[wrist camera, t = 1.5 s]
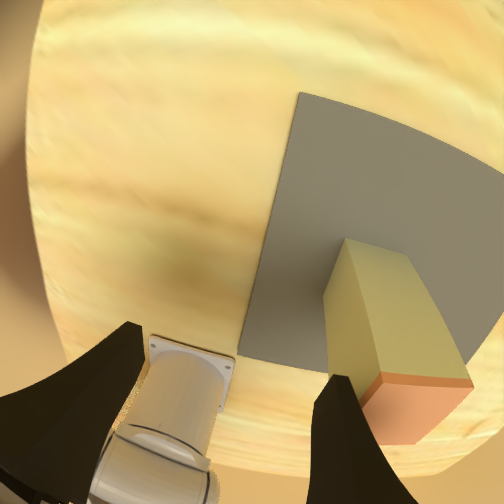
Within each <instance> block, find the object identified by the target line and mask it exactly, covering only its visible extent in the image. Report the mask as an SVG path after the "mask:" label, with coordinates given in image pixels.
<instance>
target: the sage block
mask: <svg viewBox="0 0 504 504" xmlns="http://www.w3.org/2000/svg"><path fill="white" fill-rule="evenodd" d="M323 302H324V313H325V325H326V339H327V354H328V372H329V380H330V378H331V376H332V375H333V374H337V375H343V376H348V377H349V379H350V381H351V384H352V386H353V389H354V391H355V394H356V396H357V399H358V401H359V404H360V406H361V408H362V411H363V413H364V415H365V418H366V420H367V422H368V424H369V427H370V429H371V431H372V433H373V435H374V437H375V439H376V441H377V443H378V445H414V444H416V443H417V442H418V441H419V440H421V439H422V438H423V437H424V436H425V435H427V434H428V433H429V432H430V431H431V430H432V429H433V428H435V427H436V426H437V425H438V424H439V423H440V422H441V421H442V420H443V419H444V418H446V417H447V416H448V415H449V414H450V413H451V412H452V411H453V410H454V409H455V408H456V407H457V406H458V405H459V404H460V403H461V402H462V401H463V400H464V399H465V398H466V397H467V396H468V394H469V393H470V392H471V391H472V390H473V389H474V385H473V383H472V380H471V378H470V376H469V373H468V371H467V369H466V366H465V364H464V362H463V360H462V357H461V355H460V353H459V351H458V349H457V346H456V344H455V342H454V340H453V338H452V336H451V334H450V332H449V330H448V328H447V326H446V324H445V322H444V320H443V318H442V316H441V314H440V312H439V311H438V309H437V307H436V305H435V303H434V301H433V299H432V298H431V296H430V294H429V292H428V291H427V289H426V287H425V285H424V284H423V282H422V280H421V278H420V277H419V275H418V273H417V272H416V270H415V268H414V267H413V265H412V263H411V262H410V260H409V259H408V257H407V255H405V254H401V253H398V252H394V251H391V250H387V249H384V248H380V247H377V246H373V245H369V244H366V243H362V242H358V241H355V240H351V239H347V238H345V239H344V242H343V245H342V247H341V250H340V253H339V256H338V258H337V261H336V264H335V266H334V269H333V272H332V274H331V277H330V279H329V282H328V284H327V287H326V289H325V292H324V294H323Z"/></svg>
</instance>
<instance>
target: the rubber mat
mask: <svg viewBox="0 0 504 504" xmlns="http://www.w3.org/2000/svg"><path fill="white" fill-rule="evenodd" d="M345 238H347V239H351V240H355V241H358V242H362V243H366V244H369V245H373V246H377V247H380V248H384V249H387V250H391V251H394V252H398V253H401V254H405V255H407V257H408V259H409V260H410V262H411V263H412V265H413V267H414V268H415V270H416V272H417V273H418V275H419V277H420V278H421V280H422V282H423V284H424V285H425V287H426V289H427V291H428V292H429V294H430V296H431V298H432V299H433V301H434V303H435V305H436V307H437V309H438V311H439V312H440V314H441V316H442V318H443V320H444V322H445V324H446V326H447V328H448V330H449V332H450V334H451V336H452V338H453V340H454V342H455V344H456V346H457V349H458V351H459V353H460V355H461V357H462V360H463V362H464V364H465V365H466V364H467V363H468V361H469V360H470V359H471V358H472V356H473V355H474V354H475V352H476V351H477V350H478V348H479V347H480V346H481V344H482V343H483V342H484V340H485V339H486V337H487V336H488V334H489V333H490V332H491V330H492V329H493V327H494V326H495V324H496V323H497V321H498V320H499V318H500V316H501V315H502V313H503V312H504V174H502V173H500V172H499V171H497V170H495V169H494V168H492V167H490V166H488V165H487V164H485V163H483V162H481V161H480V160H478V159H476V158H474V157H472V156H470V155H469V154H467V153H465V152H463V151H461V150H459V149H457V148H455V147H453V146H451V145H449V144H447V143H445V142H443V141H440V140H438V139H436V138H434V137H432V136H430V135H427V134H425V133H423V132H420V131H418V130H416V129H413V128H411V127H409V126H406V125H404V124H401V123H399V122H396V121H393V120H391V119H388V118H385V117H383V116H380V115H377V114H374V113H371V112H368V111H365V110H362V109H359V108H356V107H353V106H350V105H347V104H344V103H340V102H337V101H333V100H330V99H326V98H323V97H319V96H315V95H311V94H307V93H303V92H300V94H299V98H298V103H297V107H296V111H295V116H294V120H293V125H292V129H291V133H290V137H289V142H288V146H287V150H286V155H285V159H284V163H283V167H282V172H281V176H280V180H279V184H278V189H277V193H276V197H275V201H274V206H273V210H272V214H271V218H270V222H269V226H268V231H267V235H266V239H265V243H264V247H263V251H262V255H261V259H260V264H259V268H258V272H257V276H256V280H255V284H254V288H253V292H252V296H251V300H250V304H249V308H248V312H247V316H246V320H245V324H244V328H243V332H242V336H241V340H240V344H239V348H238V352H237V355H240V356H244V357H248V358H253V359H257V360H262V361H266V362H271V363H275V364H280V365H285V366H290V367H295V368H300V369H306V370H311V371H317V372H323V373H329V372H328V354H327V339H326V325H325V313H324V302H323V294H324V292H325V289H326V287H327V284H328V282H329V279H330V277H331V274H332V272H333V269H334V266H335V264H336V261H337V258H338V256H339V253H340V250H341V247H342V245H343V242H344V239H345Z"/></svg>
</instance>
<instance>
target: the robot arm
mask: <svg viewBox="0 0 504 504" xmlns="http://www.w3.org/2000/svg"><path fill="white" fill-rule="evenodd" d="M148 344H149V358H150V369H149V371H148V373H147V375H146V377H145V379H144V381H143V383H142V385H141V387H140V389H139V391H138V393H137V395H136V397H135V399H134V401H133V403H132V405H131V407H130V409H129V412H128V414H127V416H126V418H125V420H124V422H120V424H119V426H118V428H117V430H116V432H115V429H113V428H111V427H112V424H113V423H114V421H115V419H116V417H117V415H118V413H119V412H120V410H121V408H122V406H123V404H124V403H125V401H126V399H127V397H128V396H129V394H130V392H131V390H132V388H133V387H134V385H135V383H136V381H137V378H138V376H139V374H140V371H141V369H142V366H143V364H144V361H145V355H144V345H143V334H142V326H140V325H137V324H134V323H132V322H129V321H127V322H125V323H124V324H123V325H121V326H120V327H119V328H118V329H116V330H115V331H114V332H113V333H111V334H110V335H109V336H108V337H106V338H105V339H104V340H102V341H101V342H100V343H99V344H97V345H96V346H95V347H93V348H92V349H90V350H89V351H88V352H86V353H85V354H84V355H82V356H81V357H79V358H78V359H76V360H75V361H73V362H72V363H70V364H69V365H67V366H66V367H64V368H63V369H62V370H59V371H58V372H56V373H54V374H53V375H51V376H49V377H47V378H46V379H43V380H42V381H39V382H37V383H35V384H33V385H31V386H29V387H27V388H24V389H22V390H19V391H17V392H14V393H11V394H8V395H5V396H2V397H0V504H59V503H60V504H69V502H71V503H73V504H218V500H219V495H220V483H219V480H218V478H217V476H216V474H215V472H214V471H212V470H210V469H209V465H210V461H211V460H210V459H209V458H206V457H205V456H206V453H207V449H208V445H209V442H210V438H211V434H212V431H213V427H214V423H215V420H216V416H217V412H219V413H220V412H222V411H223V407H224V403H225V400H226V396H227V392H228V388H229V384H230V380H231V376H232V372H233V368H234V364H235V361H234V359H232V358H230V357H226V356H222V355H218V354H214V353H210V352H207V351H203V350H200V349H196V348H193V347H189V346H186V345H182V344H179V343H176V342H172V341H169V340H166V339H163V338H160V337H157V336H153V335H152V336H150V337H149V339H148ZM306 504H418V503H417V501H416V500H415V499H414V498H413V497H412V496H411V494H410V493H409V492H408V491H407V489H406V488H405V486H404V485H403V484H402V483H401V482H400V480H399V478H398V477H397V475H396V474H395V473H394V471H393V470H392V468H391V466H390V465H389V463H388V461H387V460H386V458H385V456H384V454H383V453H382V451H381V449H380V447H379V445H378V443H377V441H376V439H375V437H374V435H373V433H372V431H371V429H370V427H369V424H368V422H367V420H366V418H365V415H364V413H363V411H362V408H361V406H360V404H359V401H358V399H357V396H356V394H355V391H354V389H353V386H352V384H351V381H350V379H349V377H348V376H343V375H337V374H333V375H332V376H331V378H330V380H329V381H328V383H327V384H326V386H325V387H324V389H323V390H322V392H321V393H320V395H319V396H318V398H317V399H316V401H315V402H314V409H313V416H312V424H311V469H310V485H309V490H308V496H307V502H306Z"/></svg>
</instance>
